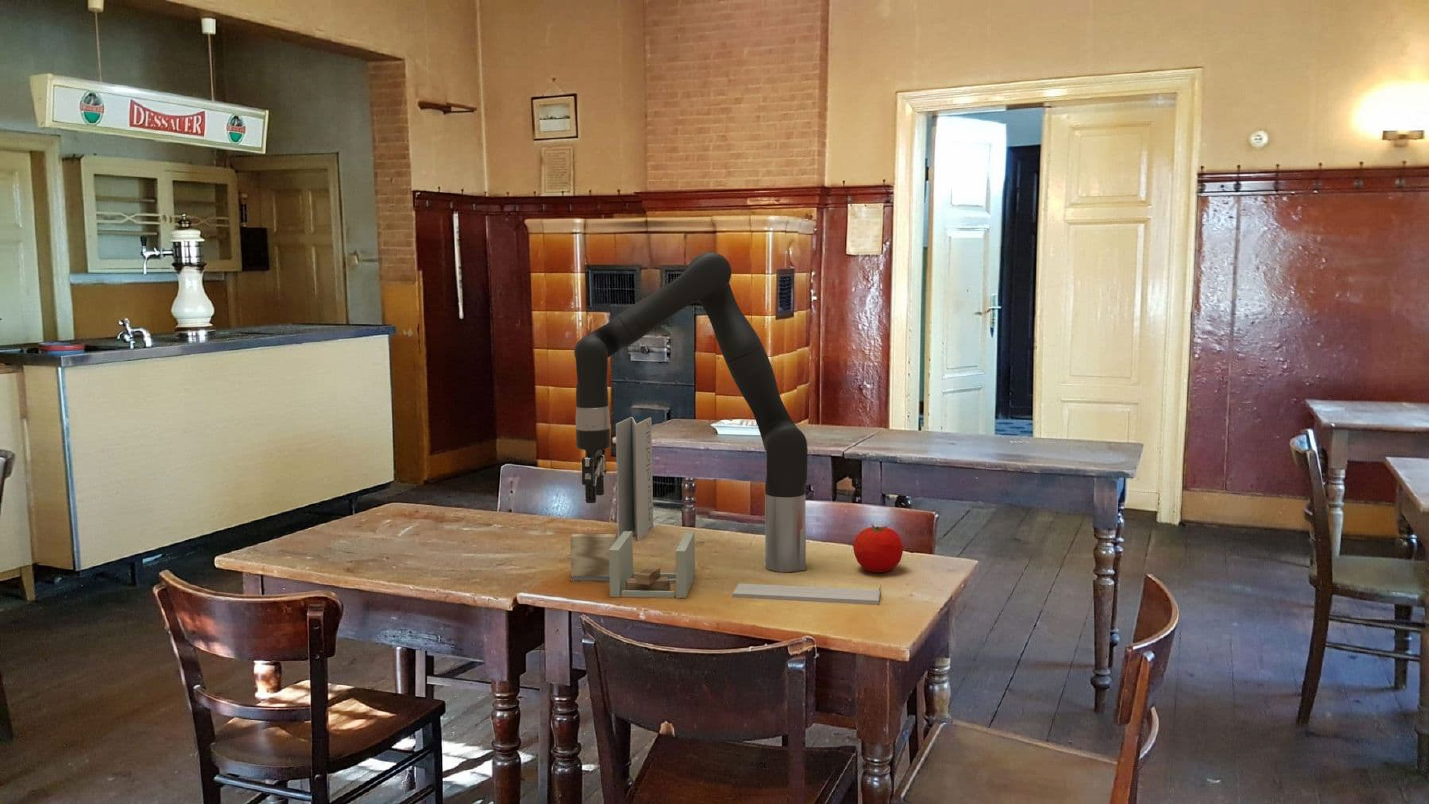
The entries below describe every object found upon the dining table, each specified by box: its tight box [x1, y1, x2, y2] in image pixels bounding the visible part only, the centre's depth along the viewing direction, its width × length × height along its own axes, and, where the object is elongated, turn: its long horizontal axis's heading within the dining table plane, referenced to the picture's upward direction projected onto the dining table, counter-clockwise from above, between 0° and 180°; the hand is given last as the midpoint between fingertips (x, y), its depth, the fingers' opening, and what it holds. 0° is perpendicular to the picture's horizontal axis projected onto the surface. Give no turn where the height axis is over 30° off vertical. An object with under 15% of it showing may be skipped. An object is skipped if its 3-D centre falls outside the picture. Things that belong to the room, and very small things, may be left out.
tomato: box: [852, 523, 904, 573], centre depth 235 cm, size 11×13×10 cm
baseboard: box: [732, 583, 882, 606], centre depth 218 cm, size 30×3×10 cm
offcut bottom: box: [625, 577, 671, 591], centre depth 220 cm, size 9×3×3 cm, turn 100°
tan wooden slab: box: [569, 533, 618, 577], centre depth 232 cm, size 10×2×9 cm, turn 85°
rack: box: [609, 530, 696, 599], centre depth 224 cm, size 16×16×10 cm
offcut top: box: [635, 566, 661, 585], centre depth 220 cm, size 6×3×2 cm, turn 159°
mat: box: [570, 576, 610, 583], centre depth 233 cm, size 10×9×1 cm
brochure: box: [615, 416, 654, 541], centre depth 271 cm, size 14×6×30 cm, turn 168°
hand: (595, 498), depth 231 cm, fingers open, 8 cm apart
